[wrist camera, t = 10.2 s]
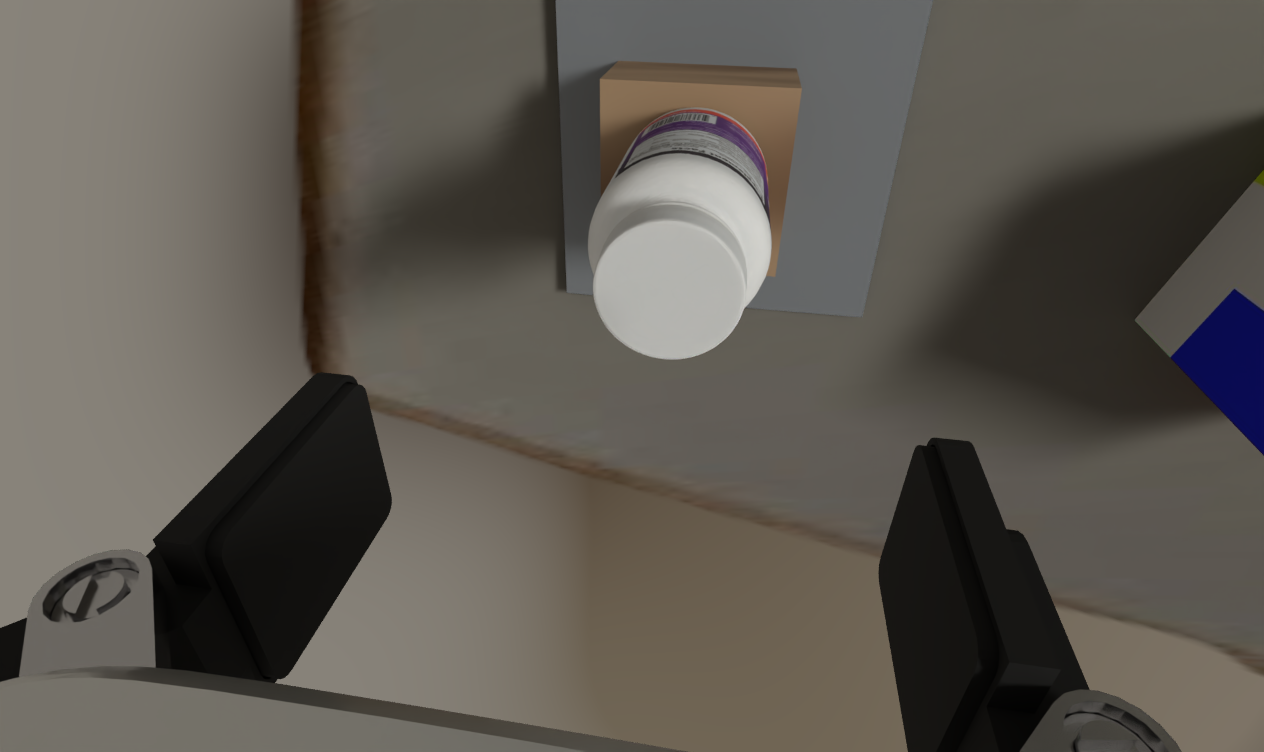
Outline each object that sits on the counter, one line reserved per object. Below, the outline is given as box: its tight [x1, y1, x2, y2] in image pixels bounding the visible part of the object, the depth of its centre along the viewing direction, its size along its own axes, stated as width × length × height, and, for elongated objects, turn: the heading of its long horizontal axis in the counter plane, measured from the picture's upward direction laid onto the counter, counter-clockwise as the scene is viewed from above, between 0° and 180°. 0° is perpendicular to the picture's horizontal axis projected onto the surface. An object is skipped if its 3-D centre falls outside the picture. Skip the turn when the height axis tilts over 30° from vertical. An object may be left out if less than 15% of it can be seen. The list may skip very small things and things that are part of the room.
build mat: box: [556, 0, 933, 317], centre depth 28 cm, size 18×14×1 cm
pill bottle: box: [588, 107, 772, 359], centre depth 22 cm, size 5×5×10 cm
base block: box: [600, 61, 802, 277], centre depth 28 cm, size 7×7×4 cm
